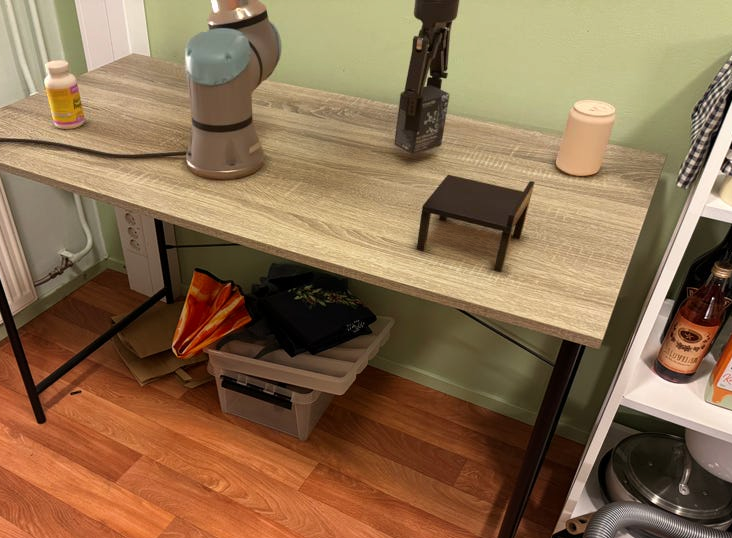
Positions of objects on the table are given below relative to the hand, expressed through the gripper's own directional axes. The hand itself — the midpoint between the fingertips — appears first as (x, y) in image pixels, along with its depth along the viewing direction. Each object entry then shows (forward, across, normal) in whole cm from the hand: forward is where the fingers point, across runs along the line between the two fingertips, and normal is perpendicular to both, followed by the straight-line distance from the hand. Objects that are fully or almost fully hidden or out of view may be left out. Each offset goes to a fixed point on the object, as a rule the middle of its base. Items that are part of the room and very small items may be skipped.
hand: (421, 121), depth 131 cm
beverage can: (+7, +10, -29) cm, 32 cm away
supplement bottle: (+8, -20, +74) cm, 77 cm away
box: (+5, 0, 0) cm, 5 cm away
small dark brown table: (+7, -26, -19) cm, 33 cm away
